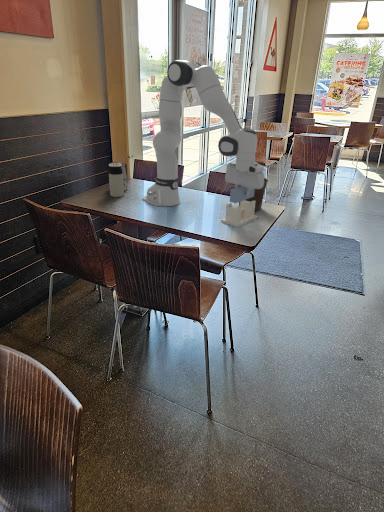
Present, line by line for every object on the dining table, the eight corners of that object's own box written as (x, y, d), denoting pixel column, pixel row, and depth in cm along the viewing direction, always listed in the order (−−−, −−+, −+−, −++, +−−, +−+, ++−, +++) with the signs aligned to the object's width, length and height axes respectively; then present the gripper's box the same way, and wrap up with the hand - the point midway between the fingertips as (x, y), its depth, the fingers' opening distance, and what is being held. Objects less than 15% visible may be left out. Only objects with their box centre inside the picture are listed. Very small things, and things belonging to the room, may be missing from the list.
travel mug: (116, 198, 200) (114, 166, 192) (107, 195, 204) (105, 164, 196) (126, 195, 205) (125, 164, 197) (117, 192, 210) (115, 162, 202)
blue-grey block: (229, 201, 164) (230, 189, 162) (248, 195, 175) (249, 183, 172) (235, 203, 162) (236, 190, 159) (253, 196, 173) (255, 184, 170)
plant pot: (241, 213, 182) (244, 183, 175) (230, 204, 196) (232, 176, 189) (269, 212, 186) (273, 182, 179) (256, 203, 200) (260, 175, 193)
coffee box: (128, 189, 216) (127, 163, 209) (119, 191, 212) (118, 165, 205) (120, 186, 222) (118, 161, 215) (111, 188, 218) (109, 162, 211)
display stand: (220, 221, 170) (222, 203, 166) (241, 213, 182) (243, 196, 178) (237, 227, 164) (239, 208, 160) (257, 218, 177) (259, 200, 173)
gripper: (223, 163, 165) (221, 191, 171) (260, 170, 154) (256, 200, 160) (230, 161, 170) (228, 189, 176) (267, 168, 158) (263, 197, 164)
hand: (242, 194), depth 168 cm, fingers closed on blue-grey block, 3 cm apart
